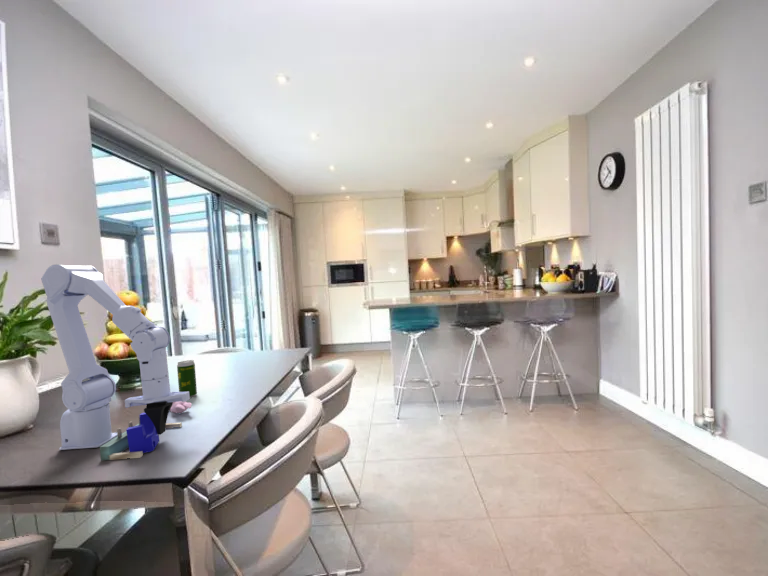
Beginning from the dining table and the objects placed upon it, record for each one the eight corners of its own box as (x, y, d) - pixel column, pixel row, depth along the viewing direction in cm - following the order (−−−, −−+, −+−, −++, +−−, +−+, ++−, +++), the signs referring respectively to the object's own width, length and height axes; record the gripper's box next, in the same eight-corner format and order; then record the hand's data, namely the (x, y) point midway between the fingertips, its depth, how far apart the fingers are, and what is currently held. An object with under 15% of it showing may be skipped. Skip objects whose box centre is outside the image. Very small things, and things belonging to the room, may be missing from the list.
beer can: (195, 393, 133) (192, 359, 133) (198, 396, 129) (196, 361, 128) (178, 397, 130) (175, 362, 129) (180, 400, 125) (178, 364, 125)
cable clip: (153, 450, 86) (149, 424, 86) (130, 456, 84) (126, 429, 84) (164, 432, 97) (161, 409, 97) (144, 436, 96) (141, 413, 95)
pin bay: (100, 460, 83) (99, 438, 83) (149, 428, 101) (148, 409, 101) (140, 457, 83) (138, 435, 83) (181, 426, 101) (180, 407, 101)
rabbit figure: (161, 415, 116) (175, 418, 105) (159, 395, 116) (173, 396, 106) (183, 409, 120) (199, 411, 110) (181, 390, 121) (196, 390, 110)
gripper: (113, 385, 88) (120, 443, 88) (176, 378, 88) (182, 436, 88) (133, 377, 95) (139, 431, 95) (191, 371, 95) (197, 425, 95)
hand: (161, 433), depth 92 cm, fingers closed, pressing on cable clip
